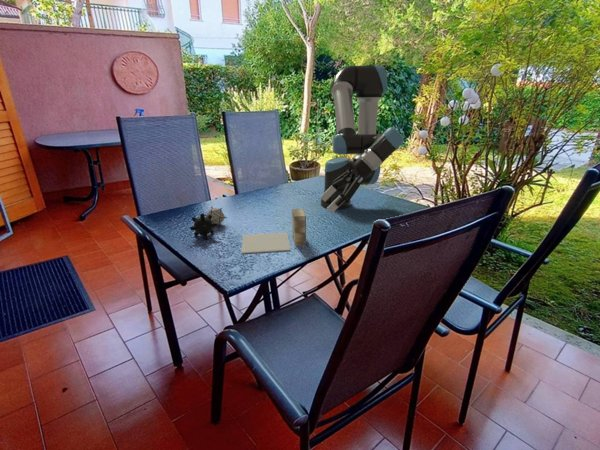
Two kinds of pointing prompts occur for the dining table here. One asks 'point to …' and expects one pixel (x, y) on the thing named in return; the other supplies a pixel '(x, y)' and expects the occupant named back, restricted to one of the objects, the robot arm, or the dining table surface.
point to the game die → (216, 215)
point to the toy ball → (203, 225)
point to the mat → (265, 243)
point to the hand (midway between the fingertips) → (325, 204)
